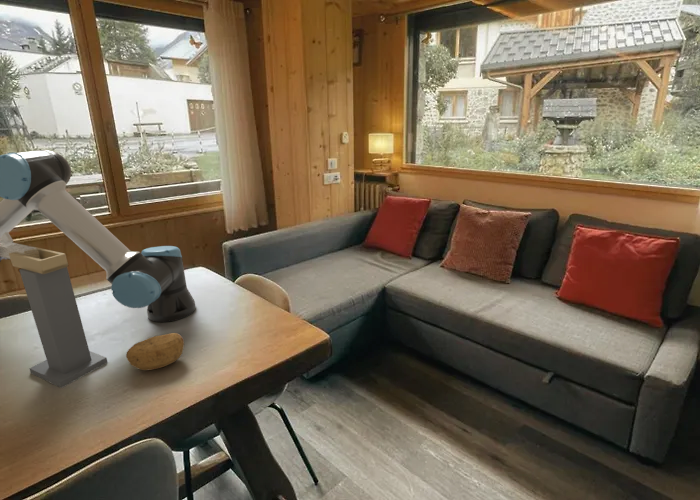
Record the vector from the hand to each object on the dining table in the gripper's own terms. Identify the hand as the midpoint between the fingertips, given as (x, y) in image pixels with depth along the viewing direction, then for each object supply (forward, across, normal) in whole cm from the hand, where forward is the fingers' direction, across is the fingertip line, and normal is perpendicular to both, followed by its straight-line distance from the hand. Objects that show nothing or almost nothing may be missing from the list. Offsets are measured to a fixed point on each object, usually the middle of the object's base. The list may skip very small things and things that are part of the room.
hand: (0, 238), depth 105 cm
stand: (-4, 0, -38) cm, 38 cm away
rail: (-1, 0, -4) cm, 5 cm away
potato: (+14, -12, -48) cm, 52 cm away
